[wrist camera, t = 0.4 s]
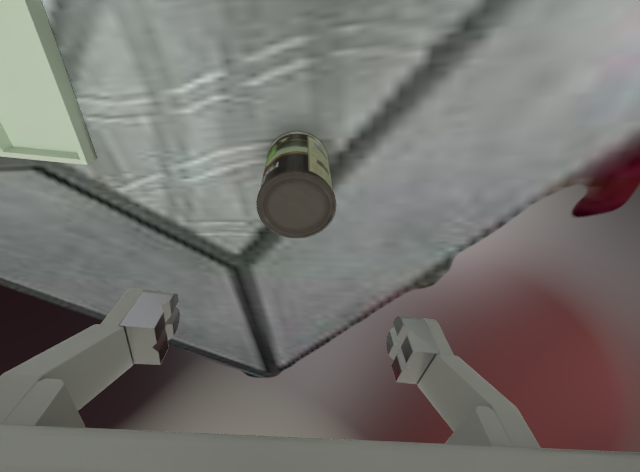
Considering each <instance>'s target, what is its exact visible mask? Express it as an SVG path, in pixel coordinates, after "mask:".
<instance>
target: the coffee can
mask: <svg viewBox="0 0 640 472" xmlns="http://www.w3.org/2000/svg"><path fill="white" fill-rule="evenodd" d="M257 211H258V214H259V217H260V219H261V221H262V222H263V223H264V224H265V225H266V226H267V227H268V228H269V229H270V230H271V231H273V232H275V233H276V234H279V235H281V236H284V237H288V238H306V237H310V236H313V235H315V234H317V233H319V232H321V231H322V230H324V229H325V228H326V227H327V226H328V225H329V224H330V223H331V221H332V219H333V218H334V215H335V211H336V199H335V195H334V193H333V187H332V181H331V175H330V169H329V163H328V155H327V151H326V149H325V147H324V146H323V144H322V143H321V142H320V141H319V140H318V139H317V138H315V137H314V136H312V135H310V134H308V133H304V132H289V133H286V134H283V135H281V136H280V137H278V138H277V139H276V140H275V141H274V142H273V143H272V145H271V146H270V148H269V151H268V154H267V161H266V166H265V171H264V175H263V180H262V184H261V188H260V191H259V194H258V197H257Z"/></svg>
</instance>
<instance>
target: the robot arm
mask: <svg viewBox="0 0 640 472" xmlns="http://www.w3.org/2000/svg"><path fill="white" fill-rule="evenodd" d="M177 303H178V295H177V294H176V293H170V292H162V291H155V290H147V289H146V290H145V289H137V288H129V289H128V290H126V291H125V293H124V294H123V295H122V297H121V298H120V299H119V301H118V302H117V303H116V304H115V306H114V307H113V308H112V310H111V311H110V312H109V314H108V315H107V316H106V318H105V319H104V320H103V322H102V323H101V324H100V325H99V324H95V325H93V326H91V327H89V328H87V329H85V330H84V331H82V332H80V333H78V334H76V335H74V336H72V337H71V338H69V339H67V340H65V341H63V342H61V343H59V344H58V345H56V346H54V347H52V348H50V349H48V350H46V351H44V352H43V353H41V354H39V355H37V356H35V357H33V358H31V359H30V360H28V361H26V362H24V363H22V364H20V365H18V366H17V367H15V368H13V369H11V370H9V371H7V372H5V373H4V374H2V375H1V376H0V472H640V453H635V452H611V451H589V450H567V449H544V448H540V446H539V444H538V442H537V441H536V439H535V438H534V436H533V434H532V432H531V431H530V429H529V427H528V425H527V424H526V422H525V420H524V419H523V417H522V415H521V414H520V412H519V410H518V409H517V407H515V406H514V405H513V404H512V403H511V402H510V401H509V400H507V399H506V398H505V397H504V396H503V395H502V394H501V393H499V392H498V391H497V390H496V389H495V388H494V387H493V386H491V385H490V384H489V383H488V382H487V381H486V380H485V379H483V378H482V377H481V376H480V375H479V374H478V373H476V372H475V371H474V370H473V369H472V368H471V367H470V366H468V365H467V364H466V363H465V362H464V361H463V360H462V359H460V358H459V357H458V356H454V355H453V353H452V351H451V348H450V346H449V344H448V342H447V341H446V339H445V336H444V334H443V332H442V330H441V328H440V326H439V324H438V322H437V321H436V320H434V319H423V318H422V319H421V318H412V317H401V316H398V317H396V318H395V320H394V322H393V323H394V328H393V329H391V330H390V331H389V333H388V336H387V351H388V355H389V356H390V357H391V358H392V359H393V360H394V361H393V363H392V365H391V366H392V370H393V373H394V377H395V380H396V382H401V383H411V384H418V385H417V386H418V387H419V388H420V390H421V391H422V392H423V393H424V394H425V396H426V397H427V398H428V400H429V401H430V402H431V403H432V405H433V406H434V407H435V408H436V410H437V411H438V412H439V414H440V415H441V416H442V417H443V419H444V420H445V421H446V422H447V424H448V425H449V426H450V427H451V429H452V430H453V431H454V433H453V434H452V435H451V436H450V438H449V439H448V440H447V442H446V443H445V444H432V443H409V442H387V441H365V440H342V439H322V438H298V437H277V436H254V435H230V434H209V433H185V432H163V431H141V430H119V429H97V428H96V429H95V428H85V426H84V423H83V421H82V419H81V417H80V415H79V413H78V410H79V409H80V408H82V407H83V406H84V405H85V404H87V403H88V402H89V401H90V400H91V399H92V398H94V397H95V396H96V395H97V394H99V393H100V392H101V391H102V390H103V389H105V388H106V387H107V386H108V385H110V384H111V383H112V382H113V381H114V380H116V379H117V378H118V377H119V376H120V375H122V374H123V373H124V372H125V371H126V370H128V369H129V368H130V367H131V366H133V364H155V365H160V364H161V363H162V361H163V358H164V356H165V354H166V352H167V350H168V348H169V346H168V340H170V339H171V338H172V337H174V335H175V333H176V330H177V327H178V324H179V318H180V312H179V309H178V308H177V307H176V305H177Z"/></svg>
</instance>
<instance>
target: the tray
mask: <svg viewBox="0 0 640 472" xmlns="http://www.w3.org/2000/svg"><path fill="white" fill-rule="evenodd" d="M0 156H2V157H12V158H22V159H32V160H42V161H52V162H62V163H73V164H83V165H88V164H90V163H91V162H92V161H94V160H95V159H96V158H97V156H96V154H95V151H94V148H93V145H92V142H91V140H90V137H89V134H88V131H87V128H86V125H85V123H84V120H83V117H82V114H81V111H80V109H79V106H78V103H77V100H76V97H75V95H74V92H73V89H72V86H71V83H70V80H69V78H68V75H67V72H66V69H65V66H64V64H63V61H62V58H61V55H60V52H59V50H58V47H57V44H56V41H55V38H54V35H53V33H52V30H51V27H50V24H49V21H48V19H47V16H46V13H45V10H44V7H43V4H42V2H41V0H0Z"/></svg>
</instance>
